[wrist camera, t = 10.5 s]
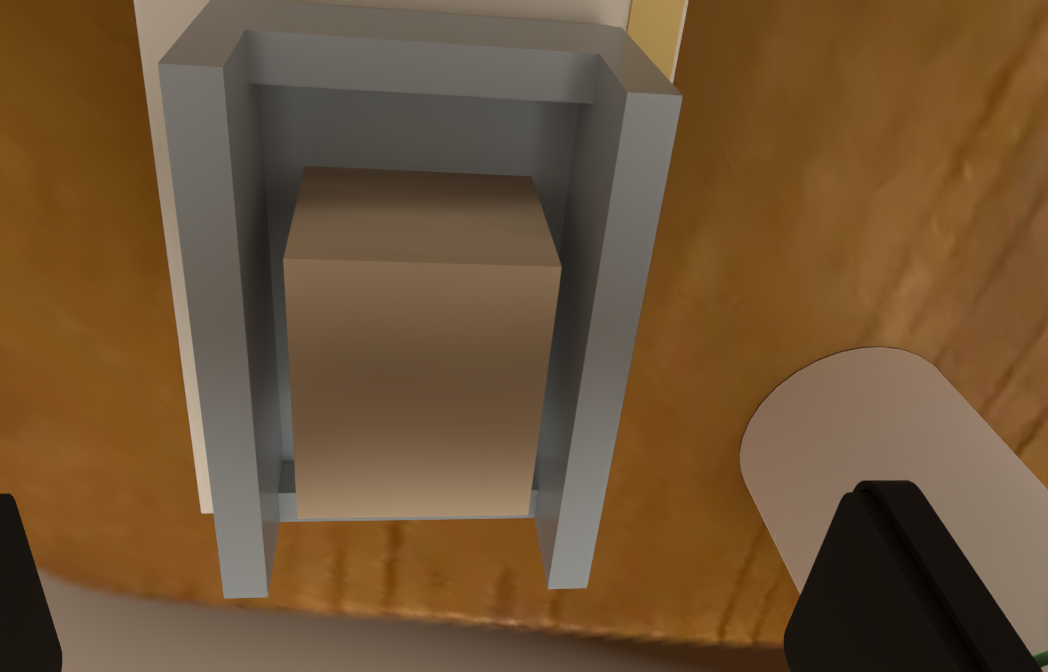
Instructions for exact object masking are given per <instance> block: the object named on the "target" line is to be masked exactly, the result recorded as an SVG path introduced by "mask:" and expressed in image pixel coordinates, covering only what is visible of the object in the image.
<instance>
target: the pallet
mask: <svg viewBox="0 0 1048 672" xmlns="http://www.w3.org/2000/svg"><path fill="white" fill-rule="evenodd" d="M158 71H159V79H160V87H161V95H162V103H163V111H164V119H165V127H166V135H167V143H168V151H169V159H170V167H171V175H172V183H173V191H174V199H175V207H176V215H177V223H178V231H179V239H180V247H181V255H182V264H183V272H184V280H185V288H186V296H187V304H188V312H189V320H190V328H191V336H192V344H193V352H194V360H195V368H196V376H197V384H198V392H199V400H200V408H201V416H202V424H203V432H204V440H205V448H206V456H207V464H208V472H209V480H210V489H211V497H212V505H213V513H214V521H215V529H216V537H217V545H218V553H219V561H220V569H221V577H222V585H223V593H224V598H257V597H268V594H269V588H270V581H271V575H272V569H273V562H274V556H275V550H276V543H277V537H278V530H279V524H280V522H304V521H366V520H428V519H490V518H535V524H536V529H537V534H538V540H539V545H540V551H541V556H542V561H543V567H544V572H545V578H546V583H547V588H548V589H567V588H587V584H588V579H589V574H590V569H591V564H592V559H593V554H594V548H595V543H596V538H597V533H598V528H599V523H600V518H601V513H602V507H603V502H604V497H605V492H606V487H607V482H608V477H609V472H610V466H611V461H612V456H613V451H614V446H615V441H616V436H617V431H618V425H619V420H620V415H621V410H622V405H623V400H624V395H625V390H626V385H627V379H628V374H629V369H630V364H631V359H632V354H633V349H634V344H635V338H636V333H637V328H638V323H639V318H640V313H641V308H642V303H643V297H644V292H645V287H646V282H647V277H648V272H649V267H650V262H651V257H652V251H653V246H654V241H655V236H656V231H657V226H658V221H659V216H660V210H661V205H662V200H663V195H664V190H665V185H666V180H667V175H668V169H669V164H670V159H671V154H672V149H673V144H674V139H675V134H676V129H677V123H678V118H679V113H680V108H681V103H682V98H683V95H682V94H681V93H680V92H679V91H678V90H677V89H676V87H675V86H674V85H673V84H672V83H671V82H670V81H669V80H668V78H667V77H666V76H665V75H664V74H663V73H662V72H661V71H660V70H659V68H658V67H657V66H656V65H655V64H654V63H653V62H652V61H651V59H650V58H649V57H648V56H647V55H646V54H645V53H644V52H643V51H642V49H641V48H640V47H639V46H638V45H637V44H636V43H635V42H634V40H633V39H632V38H631V37H630V36H629V35H628V34H627V33H626V32H625V30H624V29H623V28H622V27H614V26H609V25H598V24H585V23H571V22H558V21H544V20H530V19H517V18H503V17H490V16H476V15H463V14H449V13H435V12H422V11H408V10H395V9H381V8H367V7H354V6H340V5H327V4H313V3H300V2H286V1H272V0H210V1H209V2H208V3H207V5H206V6H205V7H204V8H203V9H202V11H201V12H200V13H199V14H198V15H197V17H196V18H195V19H194V20H193V21H192V23H191V24H190V25H189V26H188V27H187V29H186V30H185V31H184V32H183V33H182V35H181V36H180V37H179V38H178V39H177V41H176V42H175V43H174V44H173V45H172V47H171V48H170V49H169V50H168V51H167V53H166V54H165V55H164V56H163V57H162V59H161V60H160V61H159V62H158ZM305 166H321V167H342V168H364V169H385V170H407V171H428V172H450V173H472V174H493V175H515V176H531V177H532V180H533V183H534V186H535V189H536V192H537V195H538V198H539V201H540V204H541V207H542V209H543V212H544V215H545V218H546V221H547V224H548V227H549V230H550V233H551V236H552V239H553V242H554V245H555V248H556V251H557V254H558V257H559V260H560V263H561V266H562V269H561V277H560V284H559V291H558V299H557V306H556V313H555V321H554V328H553V335H552V343H551V350H550V357H549V365H548V372H547V379H546V387H545V394H544V401H543V409H542V416H541V423H540V431H539V438H538V445H537V453H536V460H535V467H534V475H533V482H532V489H531V497H530V504H529V511H528V515H511V516H444V517H377V518H310V519H297V503H296V484H295V466H294V447H293V429H292V411H291V392H290V374H289V355H288V337H287V318H286V300H285V282H284V263H283V258H284V253H285V249H286V245H287V241H288V236H289V232H290V228H291V224H292V219H293V215H294V211H295V207H296V202H297V198H298V194H299V190H300V185H301V181H302V177H303V173H304V168H305Z"/></svg>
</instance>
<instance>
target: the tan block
mask: <svg viewBox="0 0 1048 672" xmlns="http://www.w3.org/2000/svg"><path fill="white" fill-rule="evenodd" d="M283 263H284V282H285V300H286V318H287V337H288V355H289V374H290V392H291V411H292V429H293V447H294V466H295V484H296V503H297V519H310V518H377V517H444V516H511V515H528V511H529V504H530V497H531V489H532V482H533V475H534V467H535V460H536V453H537V445H538V438H539V431H540V423H541V416H542V409H543V401H544V394H545V387H546V379H547V372H548V365H549V357H550V350H551V343H552V335H553V328H554V321H555V313H556V306H557V299H558V291H559V284H560V277H561V269H562V266H561V263H560V260H559V257H558V254H557V251H556V248H555V245H554V242H553V239H552V236H551V233H550V230H549V227H548V224H547V221H546V218H545V215H544V212H543V209H542V207H541V204H540V201H539V198H538V195H537V192H536V189H535V186H534V183H533V180H532V177H531V176H515V175H493V174H472V173H450V172H428V171H407V170H385V169H364V168H342V167H321V166H305V168H304V173H303V177H302V181H301V185H300V190H299V194H298V198H297V202H296V207H295V211H294V215H293V219H292V224H291V228H290V232H289V236H288V241H287V245H286V249H285V253H284V258H283Z"/></svg>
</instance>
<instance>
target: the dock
mask: <svg viewBox="0 0 1048 672" xmlns="http://www.w3.org/2000/svg"><path fill="white" fill-rule="evenodd" d="M209 1H210V0H134V8H135V15H136V23H137V30H138V38H139V45H140V53H141V61H142V68H143V76H144V83H145V91H146V98H147V106H148V113H149V121H150V129H151V136H152V144H153V151H154V159H155V166H156V174H157V182H158V189H159V197H160V204H161V212H162V219H163V227H164V234H165V242H166V250H167V257H168V265H169V272H170V280H171V287H172V295H173V302H174V310H175V318H176V325H177V333H178V340H179V348H180V355H181V363H182V371H183V378H184V386H185V393H186V401H187V408H188V416H189V423H190V431H191V439H192V446H193V454H194V461H195V469H196V476H197V484H198V492H199V499H200V507H201V513H213V505H212V497H211V489H210V480H209V472H208V464H207V456H206V448H205V440H204V432H203V424H202V416H201V408H200V400H199V392H198V384H197V376H196V368H195V360H194V352H193V344H192V336H191V328H190V320H189V312H188V304H187V296H186V288H185V280H184V272H183V264H182V255H181V247H180V239H179V231H178V223H177V215H176V207H175V199H174V191H173V183H172V175H171V167H170V159H169V151H168V143H167V135H166V127H165V119H164V111H163V103H162V95H161V87H160V79H159V71H158V62H159V61H160V60H161V59H162V57H163V56H164V55H165V54H166V53H167V51H168V50H169V49H170V48H171V47H172V45H173V44H174V43H175V42H176V41H177V39H178V38H179V37H180V36H181V35H182V33H183V32H184V31H185V30H186V29H187V27H188V26H189V25H190V24H191V23H192V21H193V20H194V19H195V18H196V17H197V15H198V14H199V13H200V12H201V11H202V9H203V8H204V7H205V6H206V5H207V3H208V2H209ZM272 1H286V2H300V3H313V4H327V5H340V6H354V7H367V8H381V9H395V10H408V11H422V12H435V13H449V14H463V15H476V16H490V17H503V18H517V19H530V20H544V21H558V22H571V23H585V24H598V25H609V26H614V27H622V28H623V29H624V30H625V32H626V33H627V34H628V35H629V36H630V37H631V38H632V39H633V40H634V42H635V43H636V44H637V45H638V46H639V47H640V48H641V49H642V51H643V52H644V53H645V54H646V55H647V56H648V57H649V58H650V59H651V61H652V62H653V63H654V64H655V65H656V66H657V67H658V68H659V70H660V71H661V72H662V73H663V74H664V75H665V76H666V77H667V78H668V80H669V81H670V82H671V83H672V84H673V80H674V74H675V69H676V64H677V59H678V53H679V48H680V43H681V37H682V32H683V27H684V22H685V16H686V11H687V6H688V0H272Z"/></svg>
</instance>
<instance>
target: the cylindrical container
mask: <svg viewBox="0 0 1048 672" xmlns="http://www.w3.org/2000/svg"><path fill="white" fill-rule="evenodd" d="M740 469H741V472H742V475H743V478H744V482H745V484H746V486H747V488H748V490H749V492H750V494H751V496H752V498H753V500H754V502H755V504H756V506H757V508H758V510H759V512H760V514H761V516H762V518H763V520H764V522H765V525H766V527H767V529H768V531H769V533H770V535H771V537H772V539H773V541H774V543H775V545H776V547H777V549H778V551H779V553H780V555H781V557H782V559H783V561H784V563H785V565H786V567H787V569H788V571H789V573H790V575H791V577H792V579H793V581H794V583H795V585H796V587H797V590H798V592H799V594H800V595H801V592H802V590H803V587H804V585H805V583H806V580H807V578H808V576H809V573H810V571H811V569H812V566H813V564H814V562H815V559H816V557H817V554H818V552H819V550H820V547H821V545H822V543H823V540H824V538H825V536H826V533H827V531H828V528H829V526H830V524H831V521H832V519H833V517H834V514H835V512H836V510H837V507H838V505H839V503H840V500H841V498H842V497H843V495H844V494H846V493H847V492H853V490H854V488H855V487H856V485H857V484H858V483H859V482H861V481H863V480H909V481H911V482H913V483H915V484H916V485H917V486H918V487H919V489H920V490H921V491H922V493H923V494H924V496H925V497H926V498H927V500H928V501H929V503H930V504H931V506H932V507H933V509H934V510H935V512H936V513H937V515H938V516H939V518H940V519H941V521H942V522H943V524H944V525H945V527H946V528H947V530H948V531H949V533H950V534H951V536H952V537H953V539H954V540H955V542H956V543H957V545H958V546H959V547H960V549H961V550H962V552H963V553H964V555H965V556H966V558H967V559H968V561H969V562H970V564H971V565H972V567H973V568H974V570H975V571H976V573H977V574H978V576H979V577H980V579H981V580H982V582H983V583H984V585H985V586H986V588H987V589H988V591H989V592H990V594H991V595H992V596H993V598H994V599H995V601H996V602H997V604H998V605H999V607H1000V608H1001V610H1002V611H1003V613H1004V614H1005V616H1006V617H1007V619H1008V620H1009V622H1010V623H1011V625H1012V626H1013V628H1014V629H1015V631H1016V632H1017V634H1018V635H1019V637H1020V638H1021V640H1022V641H1023V643H1024V644H1025V645H1026V647H1027V648H1028V650H1029V651H1030V653H1031V654H1032V656H1033V657H1034V659H1035V660H1036V662H1037V663H1038V665H1039V666H1040V668H1041V669H1042V671H1043V672H1048V490H1047V489H1046V487H1045V486H1044V485H1043V484H1042V483H1041V482H1040V481H1039V480H1038V479H1037V478H1036V476H1035V475H1034V474H1033V473H1032V472H1031V471H1030V470H1029V469H1028V468H1027V467H1026V466H1025V464H1024V463H1023V462H1022V461H1021V460H1020V459H1019V458H1018V457H1017V456H1016V455H1015V453H1014V452H1013V451H1012V450H1011V449H1010V448H1009V447H1008V446H1007V445H1006V444H1005V443H1004V441H1003V440H1002V439H1001V438H1000V437H999V436H998V435H997V434H996V433H995V432H994V431H993V429H992V428H991V427H990V426H989V425H988V424H987V423H986V422H985V421H984V420H983V418H982V417H981V416H980V415H979V414H978V413H977V412H976V411H975V410H974V409H973V408H972V406H971V405H970V404H969V403H968V402H967V401H966V400H965V399H964V398H963V397H962V395H961V394H960V393H959V392H958V391H957V390H956V389H955V388H954V387H953V386H952V385H951V383H950V382H949V381H948V380H947V379H946V378H945V377H944V376H943V375H942V374H941V373H940V371H939V370H938V369H937V368H936V367H935V366H934V365H933V364H931V363H930V362H928V361H927V360H925V359H924V358H922V357H920V356H919V355H916V354H913V353H910V352H907V351H904V350H901V349H894V348H885V347H873V348H859V349H854V350H850V351H845V352H840V353H837V354H835V355H832V356H829V357H826V358H824V359H821V360H818V361H816V362H814V363H813V364H811V365H809V366H807V367H805V368H803V369H802V370H800V371H798V372H796V373H795V374H794V375H792V376H791V377H790V378H788V379H787V380H786V381H784V382H783V383H782V384H780V385H779V386H778V387H777V388H776V389H775V390H774V391H773V392H772V393H771V394H770V395H769V396H768V397H767V398H766V399H765V400H764V401H763V402H762V403H761V405H760V406H759V408H758V409H757V411H756V412H755V414H754V415H753V417H752V418H751V420H750V421H749V424H748V426H747V428H746V431H745V433H744V436H743V438H742V444H741V449H740Z"/></svg>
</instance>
